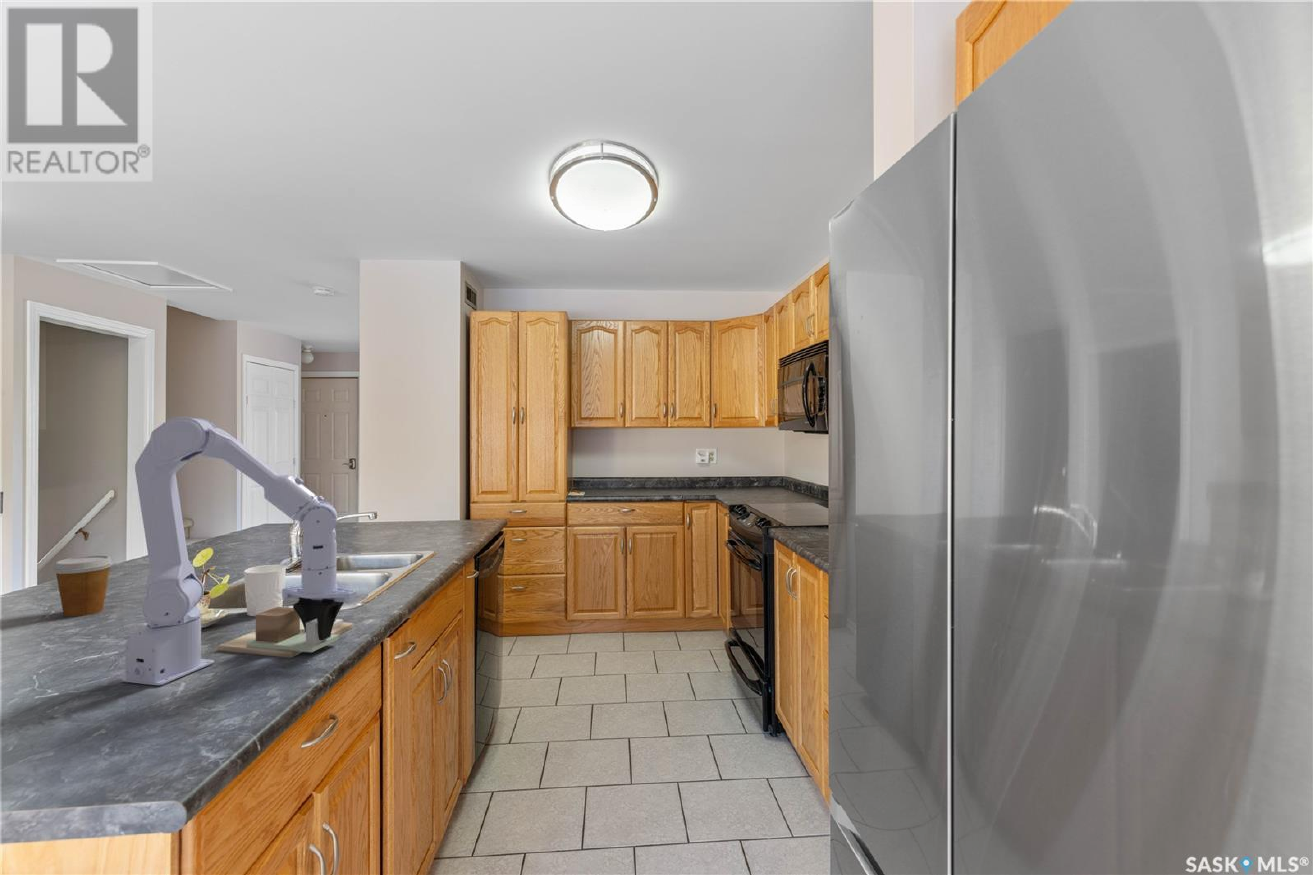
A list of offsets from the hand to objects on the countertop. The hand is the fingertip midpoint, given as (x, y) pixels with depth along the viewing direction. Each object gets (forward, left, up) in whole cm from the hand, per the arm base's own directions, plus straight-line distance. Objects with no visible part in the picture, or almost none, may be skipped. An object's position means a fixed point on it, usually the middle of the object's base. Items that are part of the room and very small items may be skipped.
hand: (318, 637), depth 107 cm
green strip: (0, +6, -1) cm, 6 cm away
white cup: (+17, +29, -3) cm, 34 cm away
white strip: (+8, +11, -1) cm, 14 cm away
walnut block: (0, +9, -1) cm, 9 cm away
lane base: (+4, +10, -2) cm, 11 cm away
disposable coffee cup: (+8, +68, -3) cm, 69 cm away
